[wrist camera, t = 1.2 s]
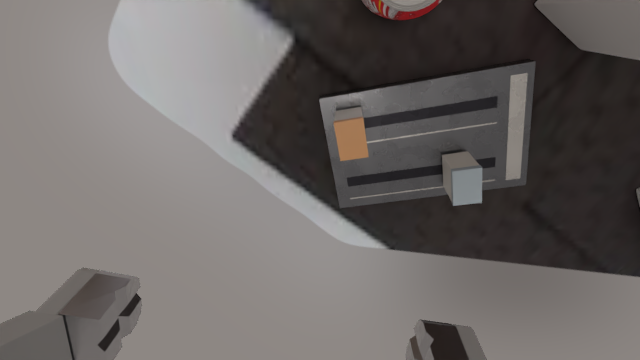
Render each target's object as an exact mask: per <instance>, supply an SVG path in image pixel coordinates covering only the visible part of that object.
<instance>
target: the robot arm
mask: <svg viewBox="0 0 640 360" xmlns="http://www.w3.org/2000/svg"><path fill="white" fill-rule="evenodd" d="M139 288H140V282H139V278H138V277H135V276H129V275H124V274H118V273H113V272H107V271H102V270H101V271H99V270H94V269H88V268H82V269H79V270H77V271H76V272H75V273H74V274H73V275H72V276H71V277H70V278H69V279H68V280H67V281H66V282H65V283H64V284H63V285H62V286H61V287H60V288H59V289H58V290H57V291H56V292H55V293H54V294H53V295H52V296H51V297H50V298H49V299H48V300H47V301H45V303H43V304H42V305H41V306H40V307H39V308H38V309H37V310H36V311H28V312H26V313H23V314H21V315H19V316H17V317H15V318H12V319H10V320H8V321H5V322H3V323H1V324H0V360H114V358H115V357H116V355H117V354H118V352H119V351H120V349H121V348H122V343H121V339H122V338H123V337H125V336H127V335H128V334H130V333H131V332H132V330H133V329H134V327H135V325H136V324H137V321H138V318H139V316H140V313H141V306H142V303H141V298H140V297H139V296H138V295H137V293H136V292H137V291H138V289H139ZM414 331H415V336H414V337H412V338H411V339H410V340H409V343H408V345H407V350H406V360H487V359H486V357H485V355H484V352H483V350H482V348H481V346H480V343H479V341H478V339H477V337H476V335H475V332H474V330H473V329H472V328H471V327H468V326H461V325H452V324H448V323H440V322H433V321H426V320H418V322H417V323H416V325H415V327H414Z"/></svg>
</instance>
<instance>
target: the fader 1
mask: <svg viewBox="0 0 640 360" xmlns="http://www.w3.org/2000/svg"><path fill="white" fill-rule="evenodd" d="M334 128H335V134H336V139H337V145H338V151H339V156H340V161H345V160H352V159H359V158H366V157H369V155H368V148H367V141H366V134H365V127H364V120H363V116H362V108H361V107H356V108H350V109H345V110H339V111H336V112H335V121H334Z"/></svg>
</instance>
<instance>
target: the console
mask: <svg viewBox="0 0 640 360" xmlns="http://www.w3.org/2000/svg"><path fill="white" fill-rule="evenodd" d="M535 63H536V61H533V60H530V59H527V60H521V61H515V62H510V63H504V64H498V65H493V66H487V67H481V68H476V69H470V70H464V71H459V72H453V73H447V74H442V75H436V76H430V77H425V78H419V79H413V80H408V81H402V82H396V83H391V84H385V85H379V86H374V87H368V88H362V89H357V90H351V91H345V92H339V93H334V94H328V95H322V96H320V97H319V102H320V107H321V112H322V118H323V123H324V128H325V133H326V138H327V144H328V149H329V154H330V159H331V164H332V170H333V175H334V180H335V185H336V190H337V196H338V201H339V206H340V208H345V207H353V206H361V205H369V204H377V203H385V202H393V201H401V200H409V199H417V198H425V197H433V196H441V195H448V194H447V192H446V190H445V188H444V186H443V167H442V155H445V154H452V153H459V152H466V151H468V152H469V153H470V154H471V156H472V157H473V158H474V159H475V160H476V162H477V163H478V164H479V165H481V166H482V190H489V189H497V188H505V187H513V186H521V185H526V177H527V164H528V152H529V139H530V126H531V114H532V101H533V88H534V76H535ZM356 107H361V108H362V116H363V120H364V127H365V134H366V141H367V148H368V155H369V157H366V158H359V159H352V160H345V161H340V156H339V151H338V145H337V139H336V134H335V128H334V121H335V112H336V111H339V110H345V109H350V108H356Z"/></svg>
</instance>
